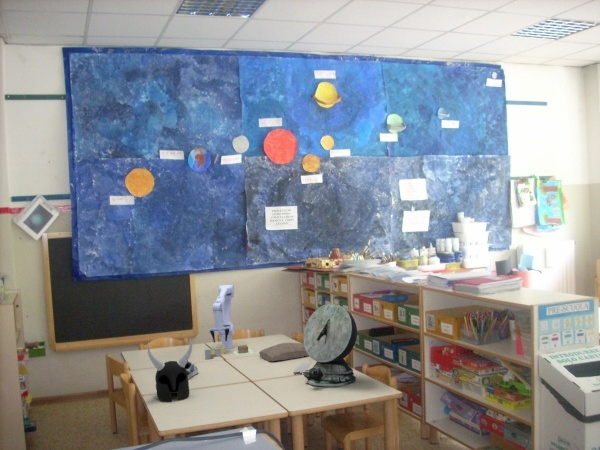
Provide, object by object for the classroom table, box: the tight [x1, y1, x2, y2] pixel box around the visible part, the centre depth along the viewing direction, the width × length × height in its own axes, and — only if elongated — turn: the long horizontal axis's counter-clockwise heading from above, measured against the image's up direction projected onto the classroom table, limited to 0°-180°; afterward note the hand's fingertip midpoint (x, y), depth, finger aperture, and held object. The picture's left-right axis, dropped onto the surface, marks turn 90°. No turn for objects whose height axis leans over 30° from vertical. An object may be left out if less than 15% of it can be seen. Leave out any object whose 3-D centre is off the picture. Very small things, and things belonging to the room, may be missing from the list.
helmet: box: [146, 337, 193, 403], centre depth 317 cm, size 22×19×30 cm
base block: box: [237, 344, 249, 354], centre depth 406 cm, size 6×6×4 cm
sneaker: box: [185, 360, 199, 380], centre depth 354 cm, size 10×20×10 cm, turn 167°
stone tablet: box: [258, 342, 310, 362], centre depth 389 cm, size 20×8×30 cm
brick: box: [216, 345, 226, 355], centre depth 406 cm, size 4×4×5 cm
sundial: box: [303, 303, 358, 387], centre depth 323 cm, size 31×32×40 cm
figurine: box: [292, 356, 313, 376], centre depth 345 cm, size 14×4×9 cm, turn 107°
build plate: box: [232, 348, 254, 356], centre depth 406 cm, size 12×12×1 cm
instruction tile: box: [204, 347, 222, 360], centre depth 397 cm, size 2×10×6 cm, turn 104°
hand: (220, 341), depth 406 cm, fingers open, 7 cm apart
